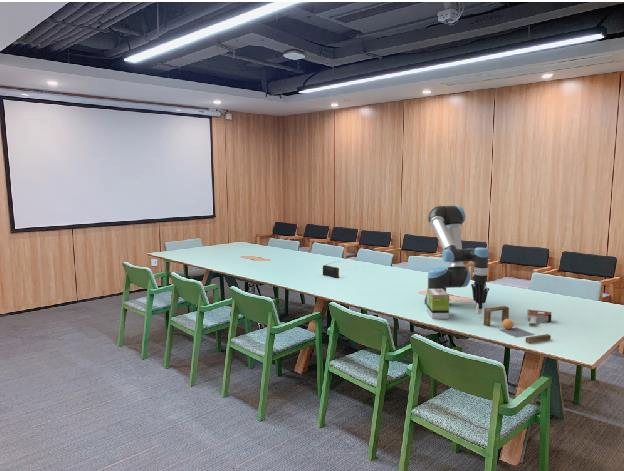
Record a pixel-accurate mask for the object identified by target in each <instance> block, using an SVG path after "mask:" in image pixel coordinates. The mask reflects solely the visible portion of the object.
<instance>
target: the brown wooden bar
mask: <svg viewBox="0 0 624 471" xmlns="http://www.w3.org/2000/svg"><path fill="white" fill-rule="evenodd" d="M551 337H552V335H551V334H548V333H545V334H539V335H530V336H525V343H526V344H535V343H541V342H547V341H551V339H552V338H551Z"/></svg>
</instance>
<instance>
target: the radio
mask: <svg viewBox="0 0 624 471" xmlns="http://www.w3.org/2000/svg"><path fill="white" fill-rule="evenodd" d="M336 262H339V261H334V262H333V264H334V263H336ZM330 264H332V262H330V263H326V264H325V265H322V276H324V277H328V276H329V277H328V278H334V279H339V278H340V269H339V267H337V266H331V265H330Z"/></svg>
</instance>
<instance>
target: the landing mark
mask: <svg viewBox="0 0 624 471" xmlns="http://www.w3.org/2000/svg"><path fill="white" fill-rule="evenodd" d="M499 331H500V332H502V333H505V334H508V335H510V336H512V337H514V338H522V337H530V336H535V333H533V332H529V331H527V330H524V329H522V328H519V327H518V326H516V327H515V326H514V327H512V328H511V329H505V328H501V329H499Z"/></svg>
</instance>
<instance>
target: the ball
mask: <svg viewBox="0 0 624 471" xmlns="http://www.w3.org/2000/svg"><path fill="white" fill-rule="evenodd" d="M501 324H502V327H503V329H511V328H514V322H513V320H511V319H510V318H508V319H505V320H504V321H503V322H501Z"/></svg>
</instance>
